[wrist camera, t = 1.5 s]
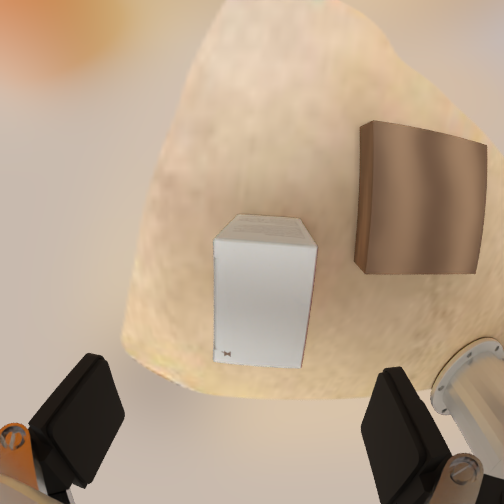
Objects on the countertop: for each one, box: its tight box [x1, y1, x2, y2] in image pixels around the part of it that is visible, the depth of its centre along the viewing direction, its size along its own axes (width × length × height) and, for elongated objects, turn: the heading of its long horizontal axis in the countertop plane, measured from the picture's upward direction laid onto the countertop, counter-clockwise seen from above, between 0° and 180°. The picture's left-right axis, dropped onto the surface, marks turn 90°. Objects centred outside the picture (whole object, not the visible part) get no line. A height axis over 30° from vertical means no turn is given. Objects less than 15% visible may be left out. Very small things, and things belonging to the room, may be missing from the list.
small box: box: [213, 214, 318, 368], centre depth 21 cm, size 8×6×10 cm
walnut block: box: [354, 120, 487, 274], centre depth 22 cm, size 12×12×4 cm
